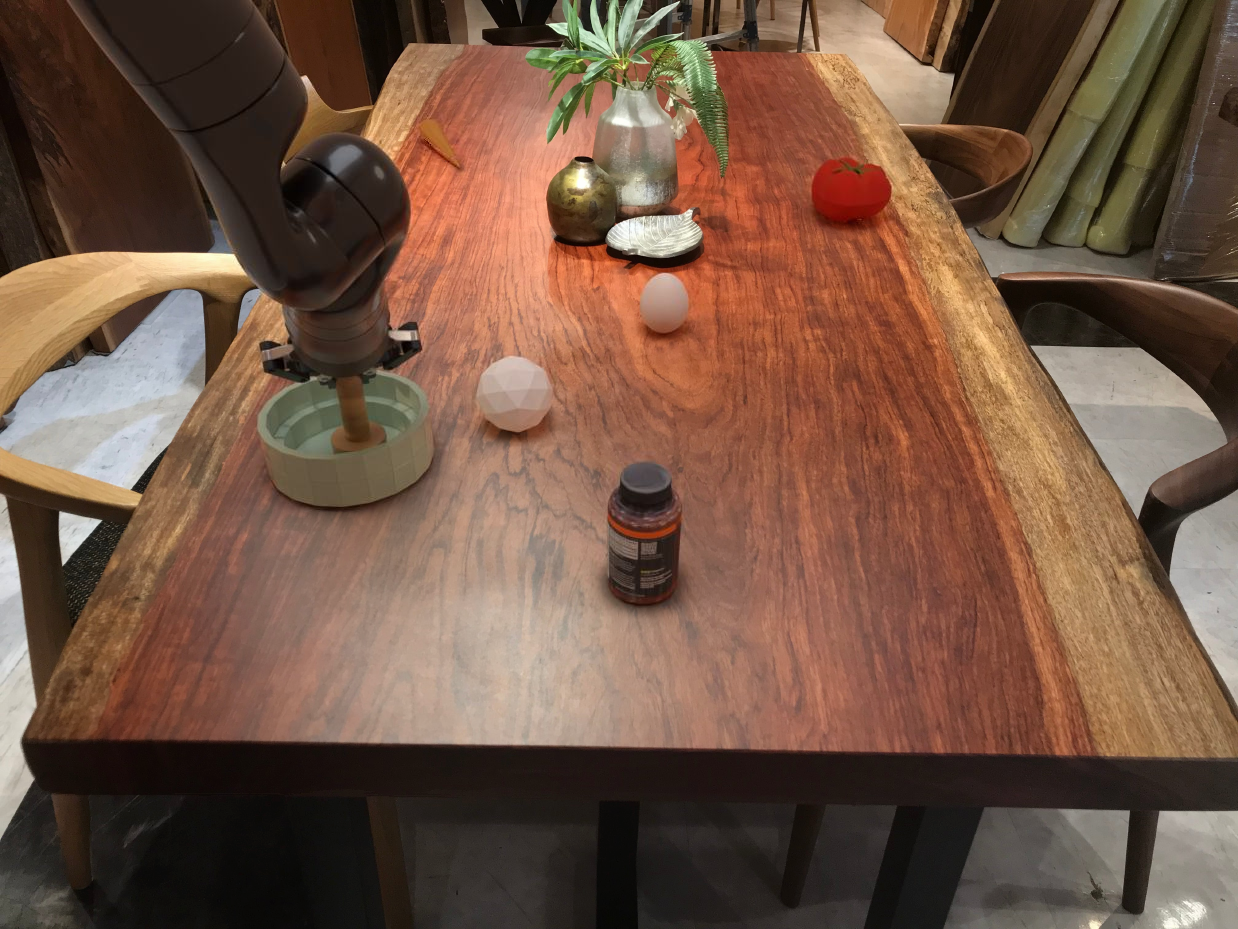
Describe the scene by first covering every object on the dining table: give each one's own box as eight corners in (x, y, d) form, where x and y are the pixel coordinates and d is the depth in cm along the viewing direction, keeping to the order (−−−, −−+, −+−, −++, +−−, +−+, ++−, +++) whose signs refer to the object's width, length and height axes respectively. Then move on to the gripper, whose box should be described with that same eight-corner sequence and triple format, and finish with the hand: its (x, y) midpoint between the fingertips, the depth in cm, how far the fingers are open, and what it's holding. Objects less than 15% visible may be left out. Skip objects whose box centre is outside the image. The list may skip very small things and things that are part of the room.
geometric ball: (508, 456, 94) (464, 421, 88) (500, 396, 98) (458, 359, 92) (570, 428, 92) (530, 391, 86) (560, 368, 96) (521, 328, 90)
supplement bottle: (648, 549, 79) (654, 444, 72) (691, 588, 75) (701, 481, 68) (592, 576, 76) (593, 469, 69) (634, 618, 72) (639, 509, 65)
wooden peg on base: (322, 461, 86) (300, 355, 79) (353, 433, 90) (334, 330, 83) (369, 473, 84) (350, 366, 78) (398, 443, 88) (383, 340, 82)
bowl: (235, 489, 84) (220, 436, 81) (332, 406, 96) (322, 357, 93) (379, 528, 80) (370, 474, 77) (461, 436, 92) (457, 386, 89)
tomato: (896, 234, 140) (907, 178, 135) (815, 232, 140) (824, 176, 134) (875, 203, 151) (885, 150, 146) (801, 201, 151) (809, 148, 146)
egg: (681, 318, 115) (685, 262, 110) (691, 340, 110) (696, 283, 106) (634, 320, 114) (636, 264, 109) (643, 343, 109) (645, 286, 105)
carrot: (422, 143, 174) (411, 122, 171) (442, 132, 175) (432, 111, 171) (454, 185, 161) (444, 163, 158) (476, 173, 162) (466, 151, 158)
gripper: (420, 258, 70) (413, 328, 87) (231, 279, 66) (262, 348, 83) (439, 349, 69) (428, 403, 86) (248, 376, 65) (276, 427, 82)
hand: (347, 376), depth 84 cm, fingers closed on wooden peg on base, 2 cm apart
